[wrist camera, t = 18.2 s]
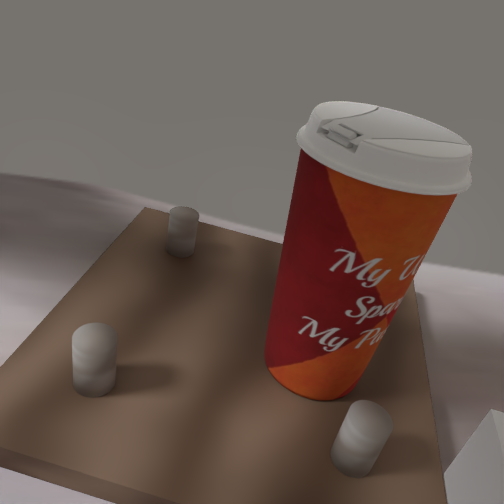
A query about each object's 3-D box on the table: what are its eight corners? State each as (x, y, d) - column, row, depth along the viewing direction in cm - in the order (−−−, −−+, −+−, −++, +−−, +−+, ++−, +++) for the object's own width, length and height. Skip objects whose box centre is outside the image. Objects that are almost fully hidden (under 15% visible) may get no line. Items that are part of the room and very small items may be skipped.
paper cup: (306, 441, 23) (410, 170, 16) (219, 340, 28) (266, 97, 20) (405, 383, 27) (520, 153, 20) (315, 305, 32) (382, 96, 25)
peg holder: (-51, 450, 21) (-69, 381, 19) (144, 222, 40) (147, 173, 37) (444, 608, 20) (495, 555, 17) (406, 294, 38) (428, 247, 36)
